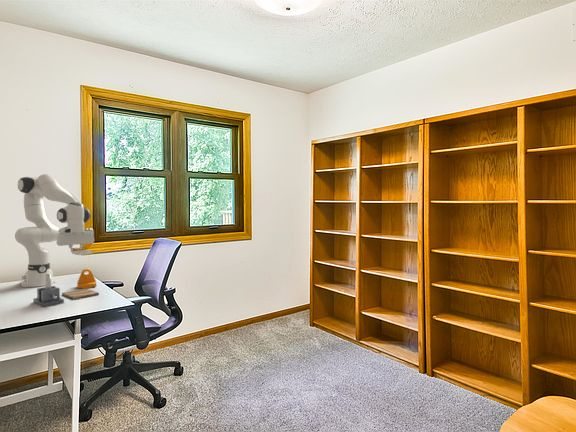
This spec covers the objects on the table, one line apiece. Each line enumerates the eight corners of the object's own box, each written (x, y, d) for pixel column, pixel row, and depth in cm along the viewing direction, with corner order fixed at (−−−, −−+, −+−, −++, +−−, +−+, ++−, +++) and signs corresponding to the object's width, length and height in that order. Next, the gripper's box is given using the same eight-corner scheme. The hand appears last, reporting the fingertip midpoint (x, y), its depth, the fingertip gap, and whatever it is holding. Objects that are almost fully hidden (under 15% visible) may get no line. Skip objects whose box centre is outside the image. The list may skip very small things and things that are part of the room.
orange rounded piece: (77, 289, 226) (77, 270, 225) (77, 286, 232) (77, 268, 232) (96, 287, 232) (96, 269, 231) (95, 285, 238) (95, 267, 237)
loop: (67, 252, 213) (67, 248, 213) (81, 251, 220) (81, 247, 220) (78, 255, 204) (78, 250, 204) (92, 253, 211) (92, 249, 211)
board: (62, 295, 212) (62, 293, 212) (86, 290, 223) (86, 288, 223) (73, 299, 203) (73, 297, 203) (98, 294, 214) (98, 292, 214)
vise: (33, 302, 197) (32, 273, 196) (53, 298, 205) (53, 271, 204) (45, 308, 187) (44, 278, 186) (66, 303, 195) (65, 275, 194)
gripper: (91, 227, 224) (91, 249, 225) (55, 229, 208) (55, 253, 208) (96, 228, 221) (96, 250, 221) (59, 230, 204) (60, 254, 205)
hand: (76, 251), depth 215 cm, fingers closed on loop, 2 cm apart
